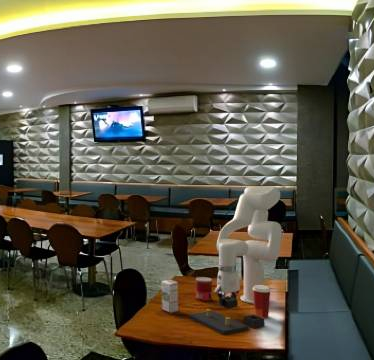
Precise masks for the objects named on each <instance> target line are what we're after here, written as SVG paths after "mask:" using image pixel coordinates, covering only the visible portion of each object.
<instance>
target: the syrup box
mask: <svg viewBox="0 0 374 360" xmlns="http://www.w3.org/2000/svg"><path fill="white" fill-rule="evenodd" d="M178 287H179V285H178V281H176V280H171V279H165V280H162V281H161V310H162V311H164V312H168V313H169V314H170V313H171V314H172V313H175V312H176V313H177V312H178V310H179V291H178V289H179V288H178Z"/></svg>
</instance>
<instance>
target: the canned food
mask: <svg viewBox="0 0 374 360" xmlns="http://www.w3.org/2000/svg"><path fill="white" fill-rule="evenodd" d="M195 299H196V301H199V302H211V301H212V299H213V279H212V278H210V277H206V276H197V277H195Z"/></svg>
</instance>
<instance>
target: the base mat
mask: <svg viewBox="0 0 374 360" xmlns="http://www.w3.org/2000/svg"><path fill="white" fill-rule="evenodd" d="M188 317H189V319H191V320H192V321H195V322H197V323H199V324H201V325H203V326H205V327H207V328H209V329H211V330H213V331H215V332H217V333H219V334H221V335H224V336H225V335H229V334H234V333H239V332H245V331H249V330H250V327H249V326H247V325H245V324H244V323H242V322H240V321H239V320H236V319H233V318H231V317H229V316H226V315H224V314H222V313H219V312H217V311H215V310H211V309H210V308H206V311H203V312H196V313H190V314H188Z"/></svg>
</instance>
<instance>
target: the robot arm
mask: <svg viewBox="0 0 374 360" xmlns="http://www.w3.org/2000/svg"><path fill="white" fill-rule="evenodd" d="M280 198H281V191H280V189H279V188H278V187H276V186H260V185H252V186H247V187H245V189H244V192H243V193H242V194H240V196H239V198H238V202H237V205H236V208H235V212H234V216H233V218H232V219H231V220H230V221H228V222H227V223H226V224H224V226H223V227H222V228H221V229H220V231H219V234H218V237H217V241H216V249H217V252H218V267H217V270H218V272H217V278H216V287H215V289H214V291H213V293H215V294H216V296H217V297H218V299H219V298H220V305H219V306H221V307H223V308H225V299H224V297H226V295H227V294H230V297H232V298H235V299H237V297H238V296H239V295H238V294H239V293H240V291H241V289H242V286H241V285H240V277H239V272H238V269H237V257H243V258H242V260H243V295H240V301H241V302H244V303H247V304H251V305H252V304H253V305H254V291H253V287H254V286H255V285H263V286H265V283H264V282H265V268H264V265H263V263H262V261H265V262H271V263H272V262H276V261H278V259H279V257H280V251H281V243H282V234H283V230H282V226H281V224H280V223H279V222H277V221H273V220H272V221H270V220H268V218H269V211H268V210H270V209H271V208H272V207H274V206H275V205H276V204H277V203H278V202H279V201H280ZM243 228H247V234H248V236H249V237H250V238H253V240H252V239H250V240H249V239H247V240H245V241H244V240H242V239H241V240H240V239H235V238H234V239H233V238H229V236H230V235H231V234H232V233H234V232H236V231H238V230H240V229H243ZM256 239H260V240H256ZM261 240H268V241H261ZM237 300H238V299H237Z"/></svg>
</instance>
